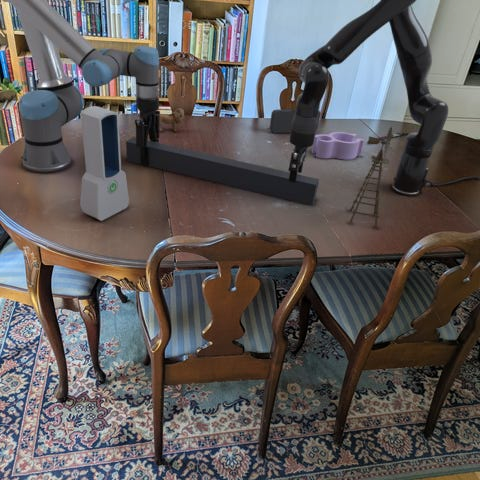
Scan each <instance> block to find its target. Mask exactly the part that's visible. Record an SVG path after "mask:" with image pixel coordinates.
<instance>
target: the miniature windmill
mask: <svg viewBox="0 0 480 480" xmlns="http://www.w3.org/2000/svg"><path fill="white" fill-rule="evenodd" d="M392 135H393V126H390V127H389V129H388V131H387V134H386V136H387V138H385V139H381V140H379V139H377V138H378V137H373V136H368V140H367V145H378V144H381V148H380V149H379V151H378V153H377V155H371V158H370V159H371V162H372V163H371V167H370V169H369V170H368V173H367V175H366V176H365V177H364V181H363V182H362V184H361V186H360V188H359V189H358V193H357V194H356V196H355V199H354V200H353V201H352V205H351V207H350V209H349V212H352V215H351V217H350V220H349V224H352V223H353V220H354V218H355V216H356V214H358V215H359V214H360V215H364V216H370V217H375V218H374V228H377V226H378V218H379V217H380V215H379V203H380V200H381V198H380V189H381V185H382V182H381V181H382V172H383V164H384V165H386V164H387V165H389V164H390V161H389V158H388V157H387V154H388V150H389V149H390V148H389V146H390V145H391V141H392V137H391V136H392ZM383 147H384V148H383ZM383 150H384V151H383ZM376 168H379V169H376ZM374 171H375V172H378V176H377V177H374V176H373V174H374ZM371 179H372V180H377V183H373V182H370V181H371ZM369 185H372V186H376V189H370V188H368V186H369ZM366 191H367V192H373V193H375V197H372V196H371V197H370V196H364V195H365V193H366ZM363 199H367V200H368V199H369V200H374V201H375V202H374V203H368V202H362V200H363ZM360 204H362V205H367V206H368V205H369V206H373V207H374V209H373V214H372V213H365V212H360V211H358V209H359V206H360ZM355 205H356V206H355Z"/></svg>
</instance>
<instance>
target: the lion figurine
mask: <svg viewBox="0 0 480 480" xmlns="http://www.w3.org/2000/svg"><path fill="white" fill-rule="evenodd" d="M184 118H185V110H184V109H183V108H180V107H179V108H176V109H175V111H173V112H171V113H170V114H163V113H160V116H159V132H163V131H164V130H163V129H162V128H161V125H162V123H163V124H165V125H171V129H172V130H173V132H175V133H176V132H178V130H177V125H178V124H180V123H181V122H182V121H183V120H184Z"/></svg>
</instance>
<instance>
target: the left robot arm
mask: <svg viewBox="0 0 480 480" xmlns="http://www.w3.org/2000/svg"><path fill="white" fill-rule="evenodd" d="M1 1H2V2H3V3H10V5H12V6H13V8H15V9H16V13H17V16H18V19H19V23H20V26H21V28H22V31H23V34H24V38H25V40H26V44H27V46H28V49H29V52H30V55H31V58H32V61H33V64H34V67H35V70H36V74H37V76H38V79H39V81H38V83H37V85H36V88H37V90H36V89H35V90H34V91H28V92H25V93H24V94H22V95H21V96H20V98H19V100H18V105H19V107H18V109H19V110H18V111H19V114H20V119H21V125H22V132H23V137H24V148H23V153H22V156H21V157H20V158H21V159H22V160H21V161H22V166H23V168H24V169H25V170H27V171H29V172H33V173H39V174H46V173H56V172H61V171H63V170H66V169H67V168H69V167H70V166H71V163H72V159H71V155H70V153H69V151H68V150H67V149H68V148H67V147H66V145H65V143H64V140H63V132H62V127H63V126H65V125H66V124H68V123H69V122H71V121H74V120H76V119H77V117H78V116H79V115H81V112H82V111H83V110H84V107H85V99H84V95H83V93H82V92H81V90H80V89H79V88H77V86H76V85H74V82H73V80H72V78H71V77H69V76H67V75H66V72H65V69H64V68H65V67H64V64H63V62H62V58H61V55H60V51H61V52H62V53H63V54H64V55H65V56H66V57H68V59H69V60H70V61H72V62H73V63H74V64H75V65H76V66H77V67H78V68H79V69H80V71H81V75H82V78H83V80H84V81H85V83H86V84H87V85H89V86H91V87H94V88H99V87H103V86H106V85H107V84H109V83H110V82H111V81H113V80H115V79H117V78H118V77H121V76H123V77H132V78H135V96H136V97H135V107H136V109H137V110H138V111H139V115H138V116H139V118H138V119H137V118H136V119H134V125H135V138H136V147H139V148H140V157H141V164H140V165H142V164H143V166H146V165H147V166H146V167H149V166H148V165H149V164H148V147H147V141H153V142H157V143H160V131H159V116H160V114H161V111H160V110H159V108H160V98H159V96H160V58H159V56H160V55H159V51H158V49H157V48H156V47H153V46H148V45H146V46H145V45H138V46H136V47H134V51H126V50H119V49H113V48H101V49H100V50H98V49H97V48H95V47H94V46H93V44H91V43H90V41H88V40H87V39H86V37H84V36H83V35H82V34H81V33H80V32H79V31H78V30H77V29H76V28H75V27H74V26H73V25H72V24H71V23H70V22H69V21H68V20H67V19H65V17H64V16H62V15H61V14H60V13H59V12H58V10H56V9H55V8H54V7H53V6H52V5H51V3H49V2H48V1H47V0H1ZM59 50H60V51H59Z"/></svg>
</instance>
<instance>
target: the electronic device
mask: <svg viewBox="0 0 480 480" xmlns="http://www.w3.org/2000/svg"><path fill="white" fill-rule="evenodd" d="M119 119H120V118H119V113H118V112H117V111H116V112H115V111H113V110H110V109H107V108H104V107H101V106H96V105H94V106H93V105H91V106H88V107H86V108H83V110H82V112H81V113H80V120H81V131H82V132H81V133H82V142H83V152H84V153H83V155H84V163H85V172H84V174H83V176H82V177H81V186H80V187H81V188H80V200H79V201H80V203H79V206H80V208H81V211H82V212H83V213H84V214H85V215H88V216H89V217H92V218H94V219H96V220H99V221H101V222H102V221H104V220H106V219H108V218H110V217H112V216H114V215H116V214H117V213H120V212H121V211H124V210H125V209H127V208H128V206H129V204H130V198H129V189H128V181H127V175H126V172H125V171H124V170H122V159H121V158H122V157H121V139H120V137H121V136H120V120H119Z"/></svg>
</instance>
